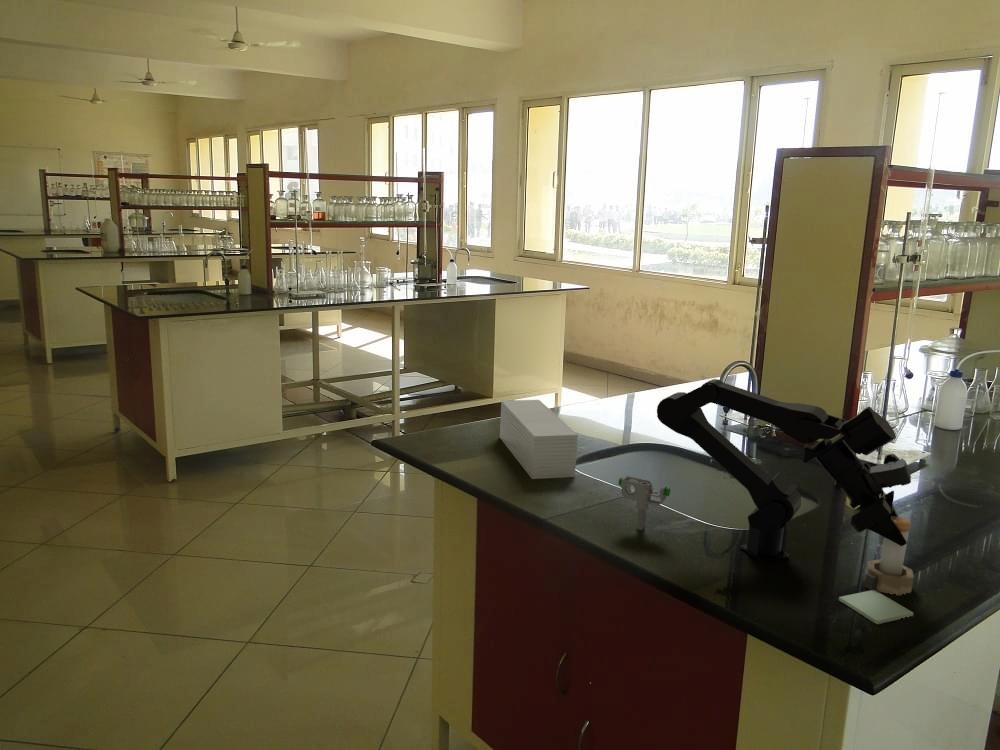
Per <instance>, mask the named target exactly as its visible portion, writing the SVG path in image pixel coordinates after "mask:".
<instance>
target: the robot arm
mask: <svg viewBox="0 0 1000 750" xmlns="http://www.w3.org/2000/svg"><path fill="white" fill-rule="evenodd" d="M708 404H715V405H718V406H721V407H722V408H723V407H724V408H726V409H729V410H732V411H734V412H737V413H741V414H744V415H747V416H749V417H752V418H754V419H757V420H760V421H763V422H765V423H768V424H770V425H772V426H774V427H776V428H777V429H778V430H780V431H781V432H782V433H783V434H785V435H787V436H788V437H790V438H792V439H794V440H795V441H797V442H800V443H801V444H805V446H804V448H803V459H802V462H803V463H804V464H807V463H809V462H810V461H812V460H813V459H815V460H816V461H817V462H818V463H819V464H820V466H822V468H823V469H824V470H825V472H826V473H827V474H828V476H829V477H830V478H831V479H832V481H834V484H833V486H834V487H835V489H836V490H837V491H838V490H841V491H842V493H843V494H844V495H845V496H846V497H847V498H848V500H849V506H850V507H851V509H853V510H852V514H851V518H850V525H851V527H853V528H854V530H855V531H856V532H857V533H862V532H863V531H865V530H868V531H871V532H874V533H876V534H877V535H880V536H881V537H883V538H884V537H885V538H887V539H889V540H891V541H893V542H894V543H896V544H898V545H900V546H903V545H905V544H907V543H908V541H907V542H906V540H905V538H904V536H903V535H902V533H901V531H900V529H899V528H898V526H897V524H896V523H895V521H894V519H893V518H892V516H896V517H899V515H898V513H897V511H896V509H895V506H894V499H895V498H894V497H895V491H894V490H891V491H889V492H888V493H886V492H885V491H884V489H886V488H889V489H890V488H892V487H896V486H907V485H909V484H911V483H912V479H911V478H912V475H911V473H910V469H909V466H908V463H907V461H906V459H904V458H899V457H898V456H897V455H896V454H895V453H889V454H885V455H884V460H883V463H878V465H874V466H872V465H870V463H868V462H867V461H865V460H863V461H861V459H860V458H859V455H861V454H862V455H863V456H865V457H866V456H869V455H870V454H872V453H873V452H875V451H877V450H879V449H880V448H882V447H884V446H886V445H888V444H889V443H890V442H893V441H894V440H896V439H897V435H896V433H895V430H894V429H893V427H892V426H891V424H890V423H889V422H888V420H887V419H886V418H883V417H882V415H880V414H879V413H878V412H876V411H874V410H873V408H872V407H871V406H867V407H865V408H863V410H862V411H861V412H860V413H858V414H857V415H855V416H854V417H852V418H850V419H849V420H846V419H844V418H840V417H837V416H834V415H831V414H828V413H827V411H826V410H824V408H822V407H820V406H817V405H812V404H805V403H801V402H799V403H797V402H784V401H779V400H776V399H773V398H770V397H768V396H763V395H761V394H758V393H756V392H752V391H749V390H747V389H743V388H740V387H737V386H735V385H732V384H729V383H726V382H723V381H722V380H720V379H717V378H713V379H710V380H708V381H706V382H704V383H703V384H702V385H700V386H699V387H697V388H695V389H693V390H690V391H689V392H685V391H682V392H681V391H680V392H676V393H673V394H671V395H668V396H666V397H665V398H662V400H660V401H659V402H658V404H657V406H656V417H657V419H658V420H659V422H660V423H662V425H663V426H665V427H667V428H668V429H670V430H671V431H673V432H674V433H675V434H676V433H677V434H679V435H681V436H683V437H686V438H689V439H691V440H692V441H694V443H695V444H697V446H699V447H700V448H701V449H702V450H703V451H704V452H706V454H708V455H709V456H710V457H711V458H712V459H713V460H714V461H715V462H716V463H717V464H719V465H720V466H721V467H722V468H723V469H724V470H725V471H726V472H727V473H728V474H730V476H732V477H733V478H734V479H735V481H737V482H738V483H739V484H741V486H743V487H744V488H745V489H746V490H747V492H748V494H749V496H750V497H751V499H752V501H753V504H754V505H755V508H754V509H753V510H752V511H751V512H750V513H749V514H748V516H747V520H748V521H747V522H748V533H747V541H746V542H747V543H746V544H742V545H740V549H742V550H743V551H745V553H747V554H749V555H750V556H751V557H754V558H756V559H757V560H759V561H760V562H763V563H764V562H772V561H777V560H783V559H788V558H790V555H789V554H788V553H787V552H786V551H785V549H786V542H787V535H788V530H787V526H788V524H787V523H788V522H790V521H791V520H792V519H793V517H794V516H795V515H796V514H797V512H798V511H799V510H800V508H801V505H802V495H801V493H800V491H798V489H797V488H798V485H797V484H795V483H792V482H791V481H790V480H789V479H787V477H786V476H785V475H784V474H783V473H782V472H781V471H779V472H777V473H776V475H775V476H774V475H771V473H770V474H769V473H766V472H765V471H764V470H762V469H761V468H760V467H759V466H758V465H757V464H756V463H755V462H753V461H752V460H751V458H749V457H747V455H746V454H744V453H743V452H742V450H740V449H739V448H738V447H736V445H734V444H733V443H732V442H731V441H730V440H729V439H728V438H726V437H725V436H724V435H723V434H722V433H721V432H720V431H719V430H718V429H717V428H715V427H714V426H713V425H712V424H711V423H710V421H708V419H707V417H706V415H705V413H704V412H703V411H704V410H703V409H702V408H703V407H704V406H707V405H708ZM818 440H820V441H818ZM814 442H818V443H815V444H814V445H810V444H812V443H814ZM857 455H858V456H857Z"/></svg>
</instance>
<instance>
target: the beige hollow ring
mask: <svg viewBox="0 0 1000 750" xmlns="http://www.w3.org/2000/svg"><path fill="white" fill-rule="evenodd" d="M880 560H881V558H878V559H875V560H874V559H872V560H867V563H866V564H867V565H866V570H865V579H864V585H863V587H864V588H866V589H867V588H868V591H871V590H875V591H877V592H879V593H885V594H888V593H889V595H893V594H896V595H895V596H903V595H902V594H904V595H907V594H906V593H909V594H911V593H912V589H913V583H914V579H915V576H914V572H913V569H911V568H909V567H907V566H905V565H904V564H903V568H902V574H901V576H900V577H897V576H892V575H887V574H883V573H882V572H880V571H879V566H880ZM910 592H911V593H910Z"/></svg>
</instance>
